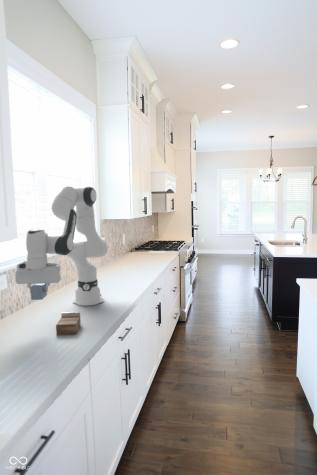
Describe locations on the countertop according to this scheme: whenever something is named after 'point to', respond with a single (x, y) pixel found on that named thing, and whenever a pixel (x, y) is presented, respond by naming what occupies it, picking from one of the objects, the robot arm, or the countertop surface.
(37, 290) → the block
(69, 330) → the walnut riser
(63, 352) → the countertop surface
